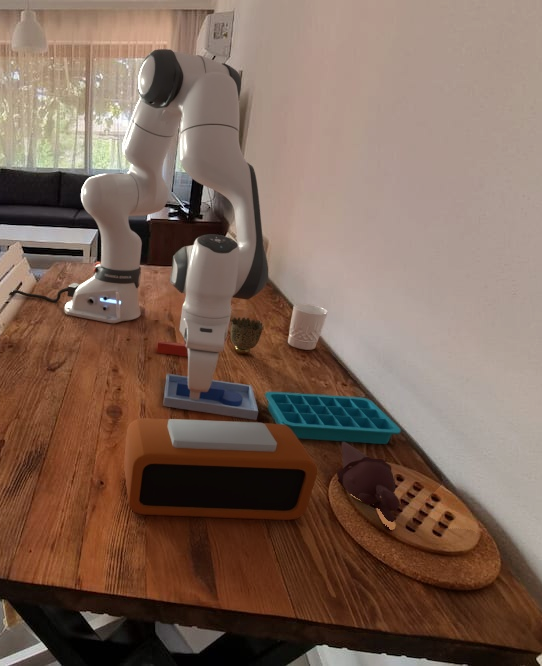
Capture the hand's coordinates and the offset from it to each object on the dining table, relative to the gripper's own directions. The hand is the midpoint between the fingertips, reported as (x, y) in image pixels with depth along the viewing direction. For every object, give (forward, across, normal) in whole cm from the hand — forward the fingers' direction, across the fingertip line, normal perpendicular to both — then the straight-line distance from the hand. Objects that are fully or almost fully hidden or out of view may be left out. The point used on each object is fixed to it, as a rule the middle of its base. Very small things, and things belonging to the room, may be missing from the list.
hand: (193, 389), depth 91 cm
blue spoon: (+1, 0, +3) cm, 3 cm away
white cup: (+2, -36, +28) cm, 46 cm away
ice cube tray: (+2, +3, +24) cm, 24 cm away
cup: (+2, -26, +12) cm, 29 cm away
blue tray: (+2, 0, +3) cm, 3 cm away
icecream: (+2, +22, +24) cm, 33 cm away
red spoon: (+2, -20, -2) cm, 20 cm away
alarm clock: (+2, +28, +2) cm, 28 cm away
